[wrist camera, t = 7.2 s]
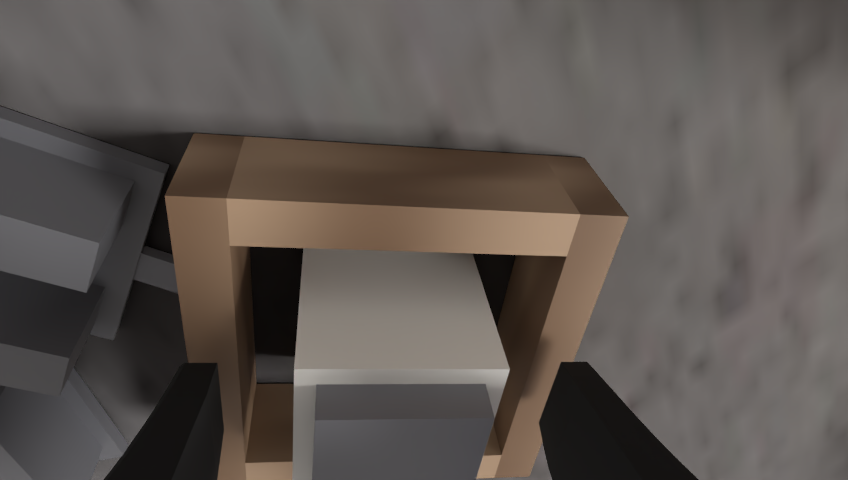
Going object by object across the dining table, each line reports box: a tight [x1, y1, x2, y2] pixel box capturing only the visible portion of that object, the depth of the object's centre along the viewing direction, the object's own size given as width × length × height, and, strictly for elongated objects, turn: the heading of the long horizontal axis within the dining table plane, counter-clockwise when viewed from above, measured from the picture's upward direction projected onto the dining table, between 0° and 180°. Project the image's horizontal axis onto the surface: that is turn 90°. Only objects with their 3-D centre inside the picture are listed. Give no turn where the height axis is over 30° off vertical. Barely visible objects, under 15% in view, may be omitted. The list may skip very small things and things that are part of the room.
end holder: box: [165, 133, 629, 480], centre depth 14 cm, size 8×8×2 cm
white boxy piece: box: [292, 248, 510, 480], centre depth 13 cm, size 4×4×5 cm
